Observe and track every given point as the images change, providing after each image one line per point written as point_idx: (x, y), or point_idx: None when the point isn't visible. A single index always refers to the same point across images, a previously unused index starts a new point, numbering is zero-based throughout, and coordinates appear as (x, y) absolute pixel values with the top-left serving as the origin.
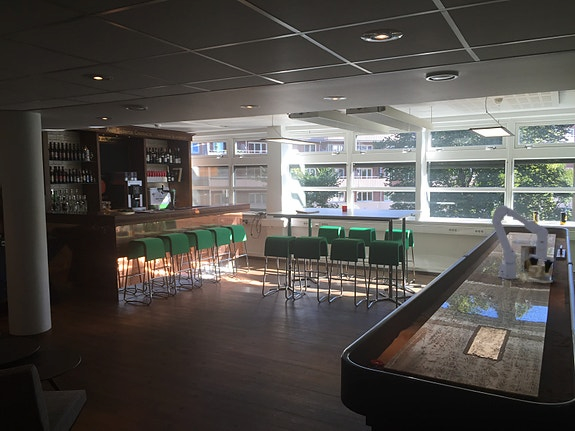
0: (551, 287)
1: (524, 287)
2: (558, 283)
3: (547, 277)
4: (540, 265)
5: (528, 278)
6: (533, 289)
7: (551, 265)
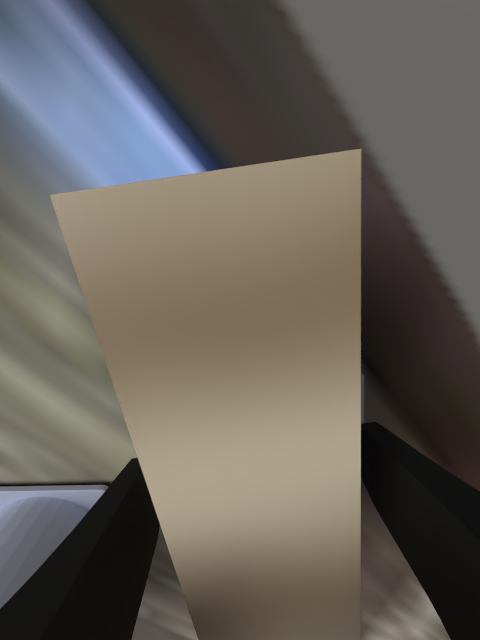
0: (469, 483)
1: (376, 619)
2: (409, 298)
3: (362, 414)
4: (251, 603)
5: None
6: None
7: (356, 235)
